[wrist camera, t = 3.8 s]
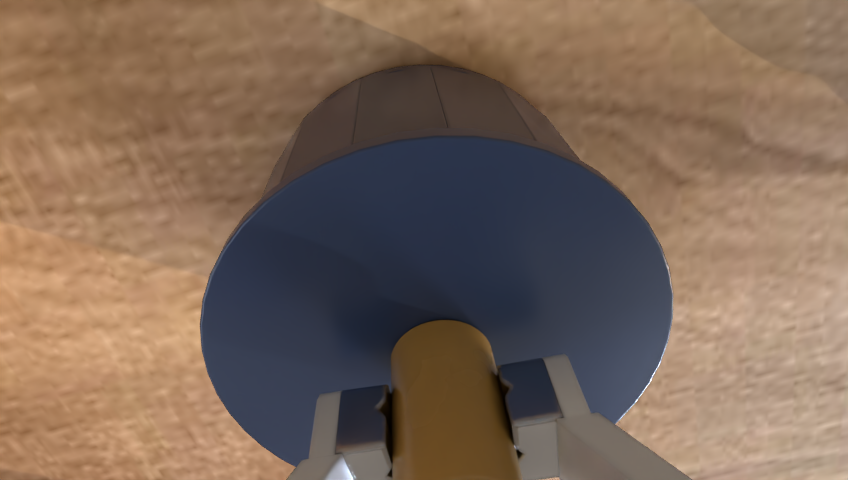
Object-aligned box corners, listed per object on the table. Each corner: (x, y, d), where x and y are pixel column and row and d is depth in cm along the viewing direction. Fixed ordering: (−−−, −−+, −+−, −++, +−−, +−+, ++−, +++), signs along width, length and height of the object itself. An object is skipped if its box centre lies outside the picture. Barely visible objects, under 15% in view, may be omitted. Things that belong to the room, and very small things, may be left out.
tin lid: (671, 70, 10) (872, 183, 6) (642, 431, 16) (735, 620, 12) (130, 169, 11) (-38, 341, 7) (290, 487, 17) (257, 689, 12)
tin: (565, 34, 16) (663, 102, 10) (572, 302, 21) (638, 441, 16) (229, 98, 16) (147, 196, 11) (319, 345, 21) (297, 495, 16)
